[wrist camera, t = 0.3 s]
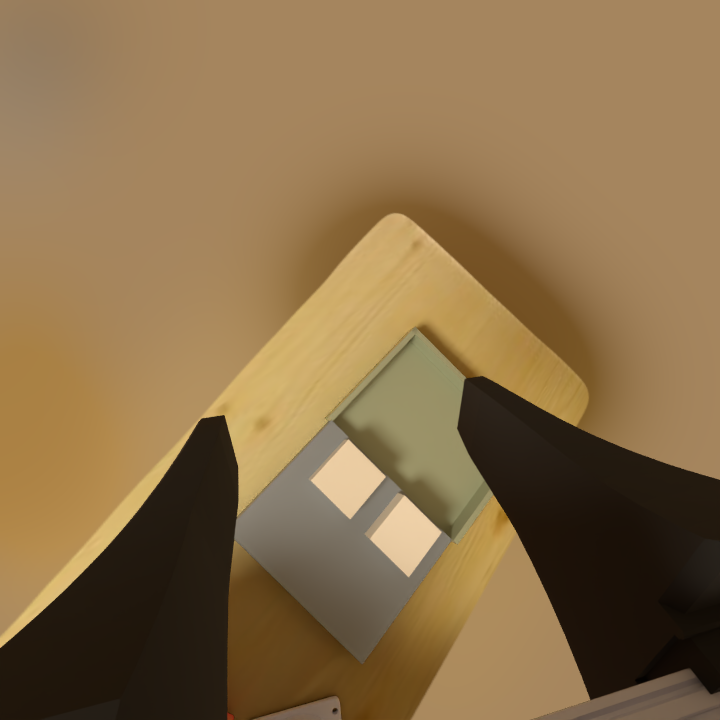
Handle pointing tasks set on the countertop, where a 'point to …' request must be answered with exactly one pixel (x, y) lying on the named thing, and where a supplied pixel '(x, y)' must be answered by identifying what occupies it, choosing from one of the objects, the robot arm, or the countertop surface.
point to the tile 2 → (403, 533)
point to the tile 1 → (347, 478)
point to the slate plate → (330, 549)
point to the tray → (417, 432)
